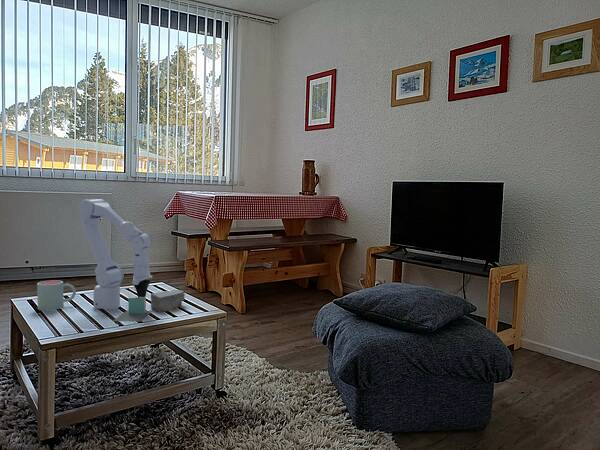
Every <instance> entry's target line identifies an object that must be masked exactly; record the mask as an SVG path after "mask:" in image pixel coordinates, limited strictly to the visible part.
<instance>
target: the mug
mask: <svg viewBox="0 0 600 450" xmlns="http://www.w3.org/2000/svg"><path fill="white" fill-rule="evenodd" d="M66 287H69V288H70V289H71V290H72V295H71V296H69V297H68V298H64V288H66ZM36 289H37V290H36V292H37V294H36V295H37V296H36V297H37V310H39V311H46V312H47V311H48V312H49V311H55V310H59V309H60V310H61V309H62V308H64V307H65V303H68V302H71V301H72V300H73V299H75V296H76V294H77V293H76V292H77V291H76V288H75V286H74V285H72V284H70V283H64V281H63V280H53V279H52V280H50V279H49V280H43V281H42V280H41V281H40V282H39V281H38V282H37V283H36ZM64 302H65V303H64Z"/></svg>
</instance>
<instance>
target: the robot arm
mask: <svg viewBox="0 0 600 450" xmlns="http://www.w3.org/2000/svg"><path fill="white" fill-rule="evenodd" d="M77 212H78V214H79V216H80V225H81V228H82V230H83V233H84V235H85V237H86V239H87V243H88V245H89V248H90V250H91V252H92V254H93V257H94V259H95V262H96V265H97V266H96V267H95V269H94V272H95V280H96V283H97V285H95V287H94V288H93V309H105V310H106V309H107V310H108V309H109V310H110V309H111V310H117V309H118V308H120V307H121V306H123V305H124V303H121V283H122V281H123V280H124V272H123V270H122V268H121V267H120V266H119V265H118V263H117V262H116V261H114V260H112V258H111V256H110V253H109V250H108V248H107V245H106V243H105V241H104V238H103V236H102V234H101V231H100V229H99V225H98V223H99V221H100V220H101V218H105V219H106V220H107V221H109V223H111V224H112V225H114V226H115V227H117V228H118V229H117V230H118V233H119V234H120V235H121V236H122V237H123V238H124V239H125V240H127V241H128V242H129V245H130V247H131V249H132V253H133V277H132V278H133V279H132V281H131V282H132V285H133V287H134V288H135V291H136V294H137V297H147V296H146V295H147V291H148V288H149V285H150V283H151V280H150V279H153V275H151V272H150V247H151V245H152V244H153V240H152V237H151V236H150V234H149V233H144V232H143V231H142V230H140V229H139V228H137V226H135V224H134V223H133V222H132V221H127V220H126V221H125V220H124V219H123V218H122V217H121V215H118V214H117V212H116V211H115V210H114V209H113V208H112V207H111V206H110V204H109V203H108V202H107V201H106V200H105V199H102V198H98V199H96V198H95V199H83V200H81V201H80V203H79V204H78V208H77Z"/></svg>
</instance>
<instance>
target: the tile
mask: <svg viewBox="0 0 600 450" xmlns="http://www.w3.org/2000/svg"><path fill="white" fill-rule="evenodd" d="M146 297H147V296H146ZM146 297H138V296H129V297H128V302H127V303H128V310H129V313H137V314H145V313H146V311H147V299H146Z"/></svg>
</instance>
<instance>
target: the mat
mask: <svg viewBox="0 0 600 450" xmlns="http://www.w3.org/2000/svg"><path fill="white" fill-rule="evenodd" d="M152 312H153V310H146V313H145V314H137V313H129V309H128V310H127V309H126V311H124V312H123V313H122V314H121V315H118V317H115V319H113V320H112V322H139V323H140V322H142V321H144V319H145V318H147V317H148V316H149V315H150V314H152Z"/></svg>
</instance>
